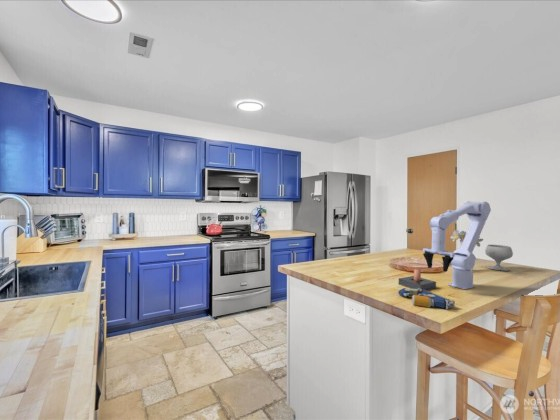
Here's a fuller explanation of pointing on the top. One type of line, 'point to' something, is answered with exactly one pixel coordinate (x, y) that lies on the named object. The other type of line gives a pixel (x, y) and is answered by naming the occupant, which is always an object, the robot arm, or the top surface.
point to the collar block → (417, 283)
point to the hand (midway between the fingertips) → (437, 269)
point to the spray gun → (426, 298)
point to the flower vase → (462, 237)
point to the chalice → (498, 255)
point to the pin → (417, 275)
